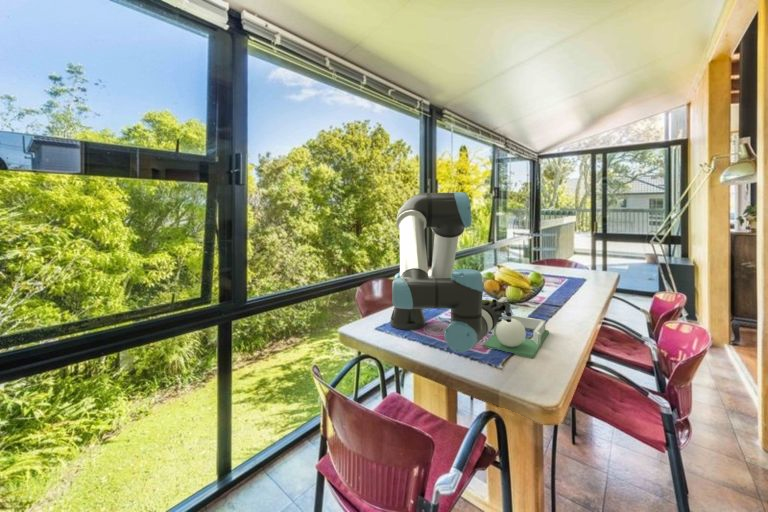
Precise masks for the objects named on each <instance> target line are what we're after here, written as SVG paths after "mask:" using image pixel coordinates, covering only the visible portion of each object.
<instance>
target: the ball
mask: <svg viewBox="0 0 768 512" xmlns="http://www.w3.org/2000/svg"><path fill="white" fill-rule="evenodd" d="M497 324H498V325H497V328H496V336H497V338H498V340H499V341H500V342H501V343H502V344H503V345H505V346H508V347H516V346H519V345H520V344H522V343H523V341H524V340H525V338H526V337H527V330H525V327H524V326H523V324H522V323H521V322H520V321H518V320H516V319H513V318H511V322H507V321H506V320H503V319H502V321H500V322H498V323H497Z"/></svg>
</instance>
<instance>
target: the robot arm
mask: <svg viewBox="0 0 768 512" xmlns="http://www.w3.org/2000/svg"><path fill="white" fill-rule="evenodd" d="M471 206H472V205H471V201H470V197H469V195H468V194H467V193H466V192H457V191H454V192H420V193H417V194H414V195H413V196H411V197H409V198H408V199H406V200H405V202H403V204H402V205H401V207H400V208H399V210H398V212H397V214H396V222H395V223H396V224H395V225H396V228H397V230H398V231H399V272H398V273H396V274H395V275H394V278H393V280H392V288H391V289H392V297H391V298H392V306H393V310H392V313H391V315H390V325H391V327H393V328H395V329H398V330H407V331H408V330H409V331H410V330H417V329H421V328H424V327H425V325H426V317H425V314H424V311H423V309H424V310H425V309H427V310H428V309H443V310H444V309H450V323H448V325H447V326H446V327H445V330H444V332H443V333H444V335H443V337H444V340H445V343H446V345H447V346H448V347H449V348H450V349H451V350H452V351H455V352H457V353H466V352H468V351H470V350H472V349H473V348H475V347H476V346H477V344H479V342H481V341H482V340H483V339H484V338H485V337H486V336H487V335H488V334H489V333H490V332H492V329H493V328H494V327H495V326H496V325H497V324H499V322H501V321H502V320H503V319H504V320H506V321H507V322H511V315H512V312H511V304H510V303H509V302H508V299H509V298H508V297H507V296H502V297H501V298H499V299H498V300H497V298H494V299H491V300H492V302H491V303H490V302H489V301H486V302H483V303H482V300H483V293H484V289H483V288H484V287H483V286H484V285H483V284H484V283H483V275H482V273H481V271H479V270H476V269H474V268H473V269H471V268H460V269H459V268H458V269H457V268H456V269H454V266H455V260H456V255H457V248H458V244H459V243H458V242H459V237H460V236H461V235H463V233H464V232H465V229H468V228H470V227H471V226H472V207H471ZM426 228H427V229H428V228H429V229H431V230H432V232H433V234H434V238H433V247H432V248H433V249H432V258H431V259H432V260H431V268H429V266H428V257H427V255H428V254H427V246H426V237H425V229H426Z"/></svg>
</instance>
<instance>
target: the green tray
mask: <svg viewBox="0 0 768 512" xmlns="http://www.w3.org/2000/svg"><path fill="white" fill-rule="evenodd" d="M511 318H513V319H516V320H518V321H520V322H521V323H522V324H523V326H524V327H525V329H526V331H529V330H532V331H531V332H533V336H532V337H533V338H532V339H531V338H526V337H525V340H524V341H523V343H522V344H520V345H519V346H516V347H508V346H505V345H503V344H502V343H501V342H500V341H499V340H498V338H497V336H496V328H497V325H498V324H499V323H497V325H496V326H495V327H494V328H493V329H492V330H491V336H490V337H489V338H487V339H486V341H485V342H483V344H482V348H485V347H489V348H493V349H492V350H494V349H499V350H502V351H507V352H512V353H514V354H513V355H515V354H516V356H521V357H525V358H529V359H534V357H535V356H536V354H537V352H538V351H539V350H540V348H541V346H542V344H543V343H544V341H545V339H546V338H547V336H548V334H549V333H550V332H549V330H548V329H546V320H545V319H540V318H539V319H538V318H533V317H532V318H531V317H526V316H521V315H516V314H515V315H513V314H511ZM502 320H504V319H502ZM489 348H488V349H489ZM502 351H501V352H502ZM507 352H506V353H507Z"/></svg>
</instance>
